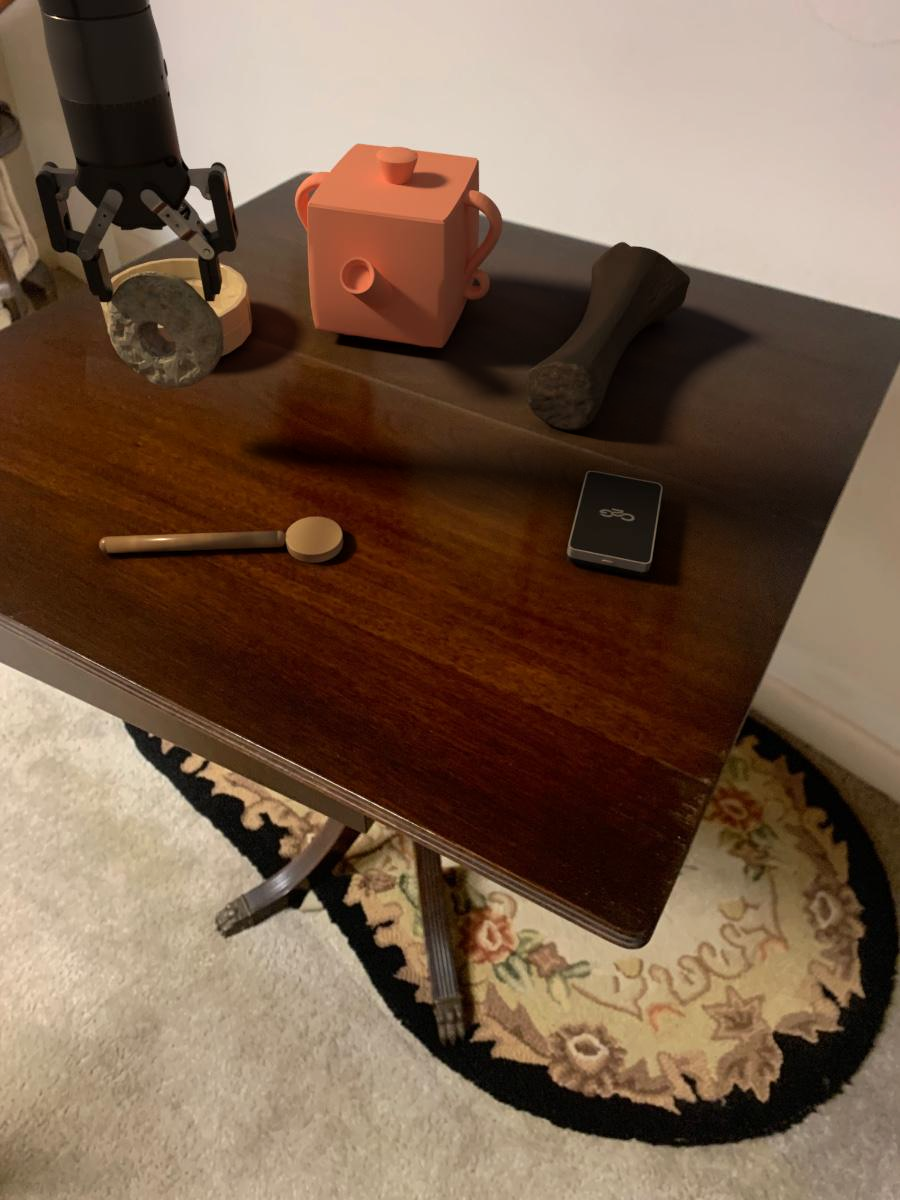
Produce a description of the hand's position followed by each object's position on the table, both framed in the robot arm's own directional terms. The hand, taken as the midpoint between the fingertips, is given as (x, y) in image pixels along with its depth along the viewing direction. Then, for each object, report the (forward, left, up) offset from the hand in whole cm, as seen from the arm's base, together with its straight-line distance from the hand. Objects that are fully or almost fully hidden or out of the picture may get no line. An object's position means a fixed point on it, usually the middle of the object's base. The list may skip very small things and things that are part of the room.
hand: (159, 297), depth 74 cm
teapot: (+20, +20, -15) cm, 32 cm away
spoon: (+4, -15, -15) cm, 21 cm away
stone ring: (0, 0, -8) cm, 8 cm away
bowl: (-3, +20, -15) cm, 25 cm away
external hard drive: (+38, -15, -15) cm, 43 cm away
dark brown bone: (+43, +12, -15) cm, 47 cm away
